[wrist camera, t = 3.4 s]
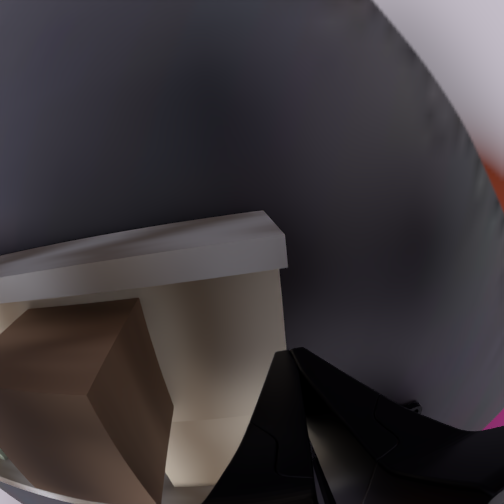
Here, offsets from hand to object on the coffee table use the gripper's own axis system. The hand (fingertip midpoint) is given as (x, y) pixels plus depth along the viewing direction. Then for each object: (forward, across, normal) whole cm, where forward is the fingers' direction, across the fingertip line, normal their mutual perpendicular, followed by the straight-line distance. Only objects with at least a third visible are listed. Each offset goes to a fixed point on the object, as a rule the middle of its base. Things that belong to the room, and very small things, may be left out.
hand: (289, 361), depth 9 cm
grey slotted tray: (+4, +11, +3) cm, 12 cm away
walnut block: (+1, +6, 0) cm, 6 cm away
